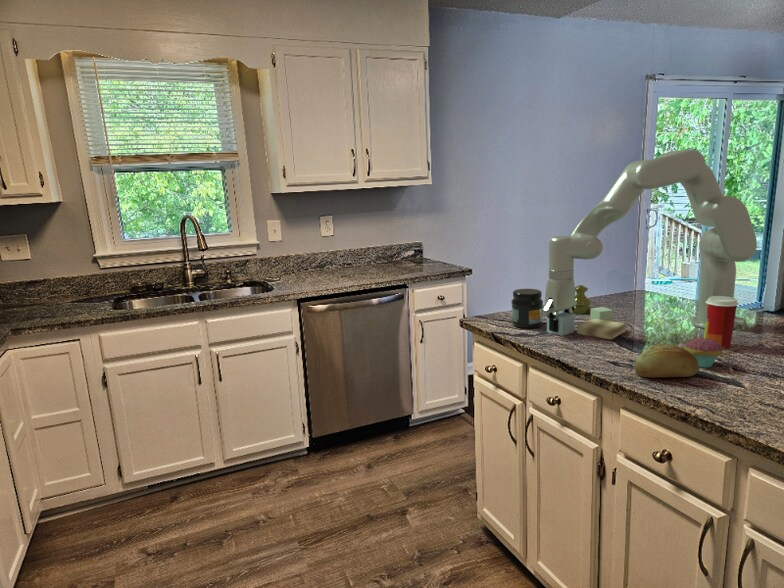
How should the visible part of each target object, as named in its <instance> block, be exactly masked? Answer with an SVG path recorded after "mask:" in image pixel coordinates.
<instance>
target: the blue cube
mask: <svg viewBox="0 0 784 588" xmlns="http://www.w3.org/2000/svg"><path fill="white" fill-rule="evenodd" d="M553 314H555V312H553ZM557 320H558V332H554V331H550V330H549V319H548V316H547V315H546V333H549V334H553V335H557V336H561V337H562V336H566V335H569V334H573V333H574V332H575V313H573V314H571V313H566V312H563V311H559V314H558V317H557Z"/></svg>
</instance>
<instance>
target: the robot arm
mask: <svg viewBox="0 0 784 588" xmlns="http://www.w3.org/2000/svg"><path fill="white" fill-rule="evenodd" d="M717 180H718V179H717V178H716V175H715V174H714V172H713V170H712V169H711V168H710V166H709V165H707V164H706V159H705V156H704V155H703V154H702V153H701V152H700V151H698V150H696V149H682V150H681V149H680V150H671V151H667V152H665V153H663V154H661V155H660V156H659V157H657V158H652V159H645V160H643V159H642V160H636V161H632V162H630V163H629V164H627V166H626V167H625V168H624V169H623V171H622V172H621V173H620V175H618V177H617V179H616V180H615V181H614V183H613V185H612V186H611V187H610V188H609V190H608V192H606V194H605V195H604V197H603V198H602V199H601V200H600V201H599V203H597V204H596V205H595V206H594V207H593V208H592V209H591V210H590V211H589V212H588V213H587V214H586V215H584V217H583V218H582V219H581V221H580V222H578V225H576V227H575V229H574V230H573V232H572V233H571V234H570V236H569V235H557V236H556V235H555V236H552V237H551V238H550V239H549V242H548V243H549V244H548V248H549V249H548V251H549V252H548V279H547V281H546V286H545V294H544V308H543V313H544V314H545V315H546V317H547V316H548V319H549V330H550V331H554V332H558V320H557V317H558V314H559V311H561V312H566V313H571V314H574V313H573V311H574V307H575V306H576V304H577V301H576V300H575V296H576V291H575V287H576V286H575V281H574V278H575V277H574V273H575V272H574V269H575V268H574V267H575V259H580V260H593V259H596V258H598V257H599V256H600V255H601V254H602V252H603V243H602V241H601V239H599V238H598V236H599V234H600V233H601V232H602V231H603V230H605V228H607V227H608V226H609V225H610V224H613V223H615V222H616V221H619V220H621V219H622V218H624V217H625V216H626V215H628V214H629V212H630V210H631V209H632V207H633V206H634V204H635V203H636V202H637V200H638V199H640V197H641V195H642V194H643V192H645V190H654V189H658V188H659V189H661V188H663V187H668V186H671V185H675V184H680V185H681V186H682V187H683V189H684V190H685V192H686V195H687V198H688V200H689V203H690V207H691V210H692V212H693V216H694V218H695V221H696V222H697V223H698V224H700V225H702V226H705V227H711V228H709V229H707V230H706V231H705V232H704V233H703V234H702V235H701V237H700V239H699V255H700V275H699V288H698V289H699V290H698V301H697V302H698V303H697V314H696V315H697V316H696V317H693V318H691V319H690V320H691V325H692V326H694V327H697V328H700V329H705V326H706V322H707V303H706V301H707V299H708V298H709V297H711V296H726V297H732V298H735V297H734V296H735V288H736V286H735V285H736V279H737V267H736V263H739V262H740V263H742V262H745V261H748V260H749V259H751V258H752V257H753V256H754V254H755V253H756V251H757V248H758V244H757V243H758V242H757V236H756V232H755V230H754V229H755V228H754V226H753V223H752V220H751V218H750V214H749V213H750V212H749V211H748V208H747V207H746V205H745V204H744V202H743V201H742V200H740V199H739V198H737V197H736V196H735V197H734V196H731V195H724V194H723V193H722V190H721V187H720V185H719V181H717ZM554 312H555V314H553V313H554ZM736 314H737V313H735V320H734V327H733V330H734V329H736V328H738V326H744V327H745V326H746V324H747V319H746V318H744V317H739V316H738V317H737V316H736Z"/></svg>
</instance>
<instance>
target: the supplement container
mask: <svg viewBox="0 0 784 588" xmlns="http://www.w3.org/2000/svg"><path fill="white" fill-rule="evenodd" d="M542 294H543V293H542V290H540V289H538V288H537V289H536V288H517V289H515V290H513V291H512V297H513V298H512V300H511V301H510V302H511V324H512V325H513V326H514V327H516V328H518V329H519V328H520V329H535V328H536V329H537V328H540V327H541V326H543V322H544V319H543V316H544V315H543V313H544V308H543V306H544V301H543V299H542V296H543V295H542Z"/></svg>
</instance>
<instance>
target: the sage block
mask: <svg viewBox="0 0 784 588" xmlns="http://www.w3.org/2000/svg"><path fill="white" fill-rule="evenodd" d="M589 314H590V315H589V317H590V318H589V320H590V319H592V318H593V319H600V320H606V321H613V315H614V310H613V309H610V308H608V307H605V306H601V307H593V308H591V312H590V313H589Z"/></svg>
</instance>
